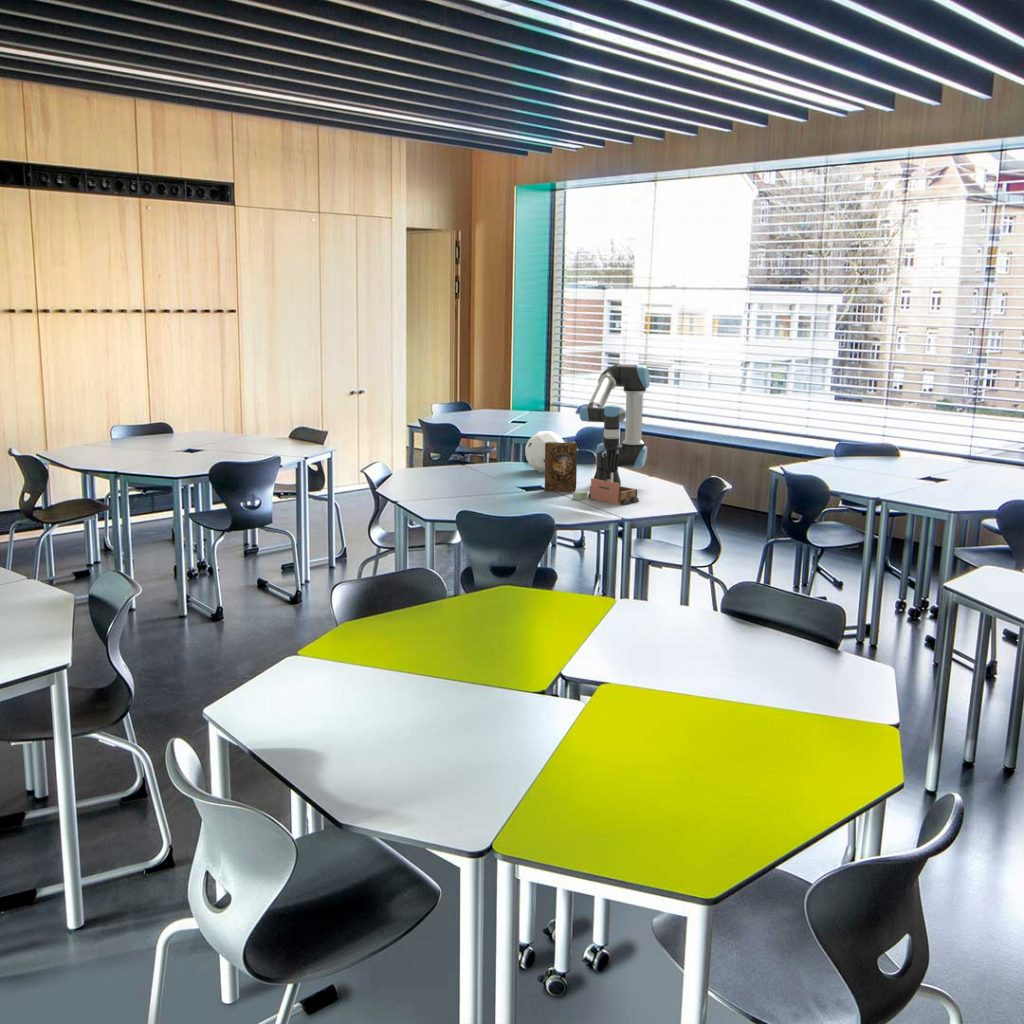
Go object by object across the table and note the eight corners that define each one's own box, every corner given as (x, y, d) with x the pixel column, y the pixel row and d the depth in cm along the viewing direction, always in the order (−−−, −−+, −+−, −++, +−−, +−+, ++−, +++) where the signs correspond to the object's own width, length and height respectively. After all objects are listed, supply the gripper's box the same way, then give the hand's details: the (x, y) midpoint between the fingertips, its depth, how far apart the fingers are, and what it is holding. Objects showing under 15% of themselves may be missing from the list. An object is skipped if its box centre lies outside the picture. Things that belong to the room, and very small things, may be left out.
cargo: (579, 500, 492) (579, 490, 491) (587, 502, 488) (587, 492, 487) (572, 501, 488) (572, 492, 487) (580, 503, 485) (580, 493, 484)
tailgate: (591, 498, 487) (592, 478, 485) (618, 503, 476) (619, 483, 473) (590, 498, 487) (590, 478, 484) (616, 504, 475) (617, 483, 473)
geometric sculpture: (543, 466, 588) (568, 434, 581) (555, 488, 568) (581, 455, 561) (511, 448, 576) (536, 415, 568) (522, 469, 556) (548, 436, 548)
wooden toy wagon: (603, 497, 498) (603, 483, 497) (639, 504, 482) (639, 489, 480) (587, 501, 490) (587, 486, 488) (623, 508, 474) (624, 492, 472)
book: (544, 491, 513) (544, 443, 508) (544, 489, 518) (545, 442, 513) (575, 492, 511) (576, 444, 506) (576, 490, 517) (577, 442, 511)
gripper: (614, 435, 484) (612, 482, 489) (596, 438, 475) (595, 486, 480) (626, 437, 479) (624, 485, 484) (608, 439, 470) (607, 488, 475)
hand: (609, 485), depth 482 cm, fingers closed
